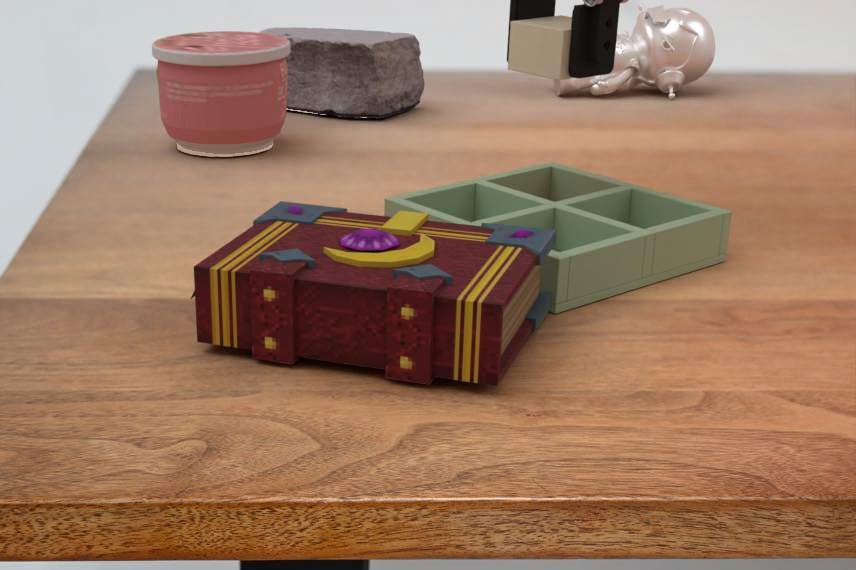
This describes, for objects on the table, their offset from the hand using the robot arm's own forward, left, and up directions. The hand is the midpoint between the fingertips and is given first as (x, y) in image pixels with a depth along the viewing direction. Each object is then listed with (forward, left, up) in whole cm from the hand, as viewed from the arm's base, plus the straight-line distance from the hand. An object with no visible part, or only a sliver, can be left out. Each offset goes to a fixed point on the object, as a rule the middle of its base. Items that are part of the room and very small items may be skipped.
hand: (559, 65), depth 74 cm
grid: (+3, +3, -10) cm, 11 cm away
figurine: (-37, -26, -10) cm, 46 cm away
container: (+4, -31, -10) cm, 33 cm away
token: (0, 0, 0) cm, 0 cm away
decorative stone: (-11, -36, -10) cm, 39 cm away
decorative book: (+19, +6, -10) cm, 23 cm away
